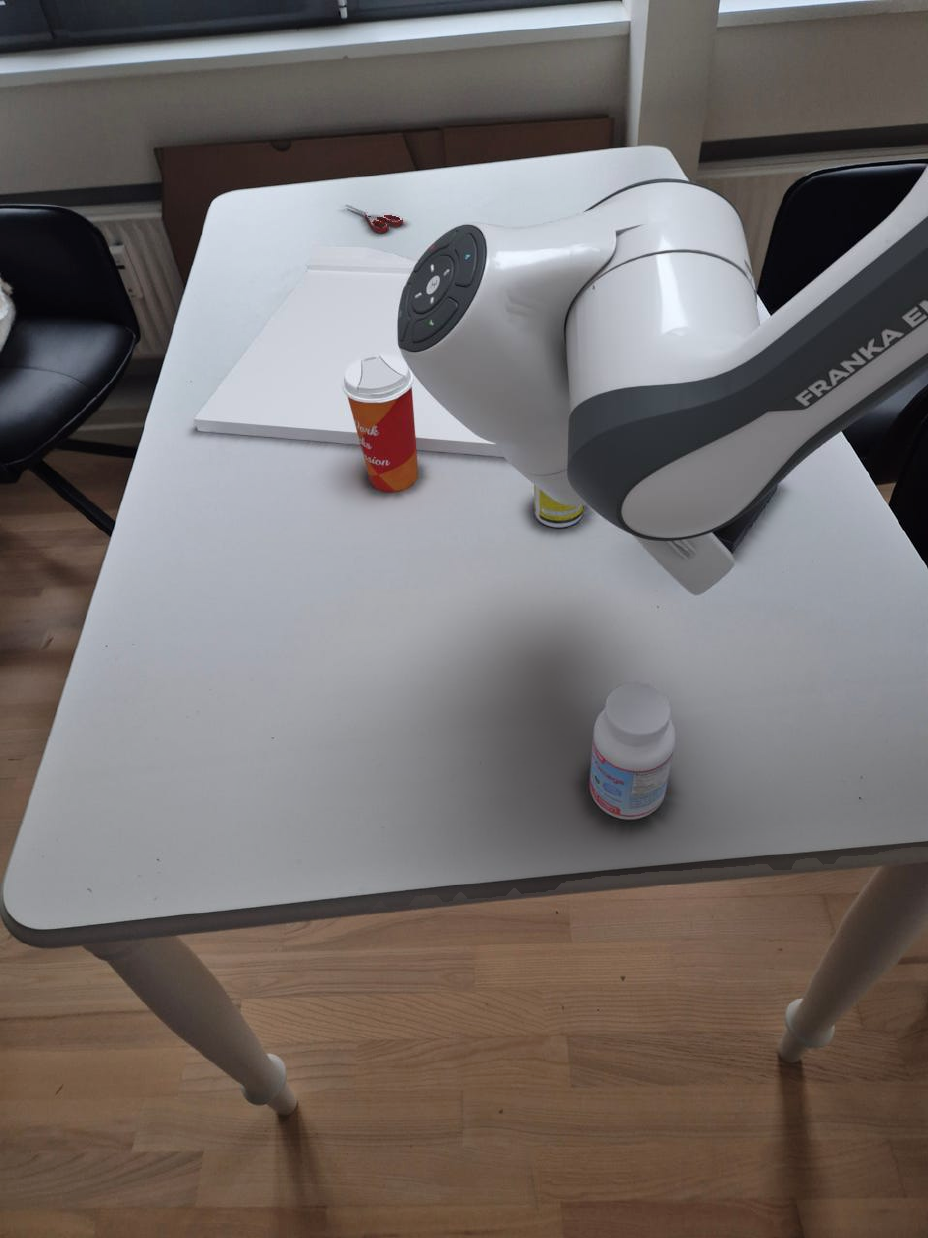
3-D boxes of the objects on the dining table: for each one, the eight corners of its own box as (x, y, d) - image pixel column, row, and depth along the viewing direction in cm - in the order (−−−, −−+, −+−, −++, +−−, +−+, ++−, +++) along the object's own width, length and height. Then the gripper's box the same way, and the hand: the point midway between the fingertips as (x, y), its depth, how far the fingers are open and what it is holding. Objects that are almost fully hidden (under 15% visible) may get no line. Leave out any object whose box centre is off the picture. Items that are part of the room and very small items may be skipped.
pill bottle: (577, 773, 72) (580, 690, 64) (642, 748, 73) (654, 663, 65) (610, 834, 68) (619, 753, 60) (679, 807, 69) (696, 724, 61)
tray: (198, 430, 110) (189, 406, 108) (319, 267, 139) (315, 245, 137) (545, 460, 101) (545, 435, 98) (598, 278, 130) (599, 255, 127)
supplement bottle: (593, 520, 93) (596, 445, 86) (547, 535, 92) (547, 460, 85) (570, 491, 97) (571, 417, 89) (526, 505, 95) (524, 431, 88)
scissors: (380, 234, 146) (380, 228, 145) (334, 212, 154) (333, 207, 153) (405, 223, 148) (405, 217, 148) (358, 202, 156) (357, 197, 155)
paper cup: (355, 466, 103) (333, 361, 92) (417, 450, 104) (402, 345, 94) (370, 505, 98) (348, 398, 87) (435, 489, 99) (421, 381, 88)
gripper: (712, 496, 49) (785, 582, 59) (544, 321, 61) (629, 418, 71) (627, 571, 50) (712, 641, 61) (481, 386, 63) (572, 471, 73)
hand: (666, 519), depth 66 cm, fingers open, 8 cm apart
